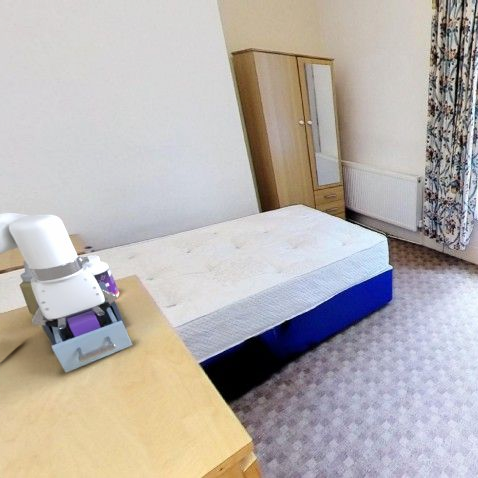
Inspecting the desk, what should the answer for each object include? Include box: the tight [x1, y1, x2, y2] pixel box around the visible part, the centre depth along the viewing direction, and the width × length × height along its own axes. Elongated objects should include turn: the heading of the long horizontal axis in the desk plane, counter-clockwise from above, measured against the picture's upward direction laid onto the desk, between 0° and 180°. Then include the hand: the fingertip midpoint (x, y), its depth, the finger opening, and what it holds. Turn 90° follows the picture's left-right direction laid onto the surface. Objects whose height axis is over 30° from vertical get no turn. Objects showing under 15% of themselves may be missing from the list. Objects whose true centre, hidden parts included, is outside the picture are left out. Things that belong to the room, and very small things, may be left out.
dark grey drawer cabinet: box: [36, 282, 127, 346], centre depth 87 cm, size 15×13×9 cm
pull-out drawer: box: [51, 307, 133, 373], centre depth 79 cm, size 19×12×7 cm, turn 51°
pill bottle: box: [82, 254, 120, 298], centre depth 98 cm, size 8×8×14 cm
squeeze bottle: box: [19, 260, 38, 316], centre depth 90 cm, size 8×8×18 cm
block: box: [67, 310, 101, 337], centre depth 79 cm, size 5×5×5 cm
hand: (88, 331), depth 80 cm, fingers closed on block, 4 cm apart
